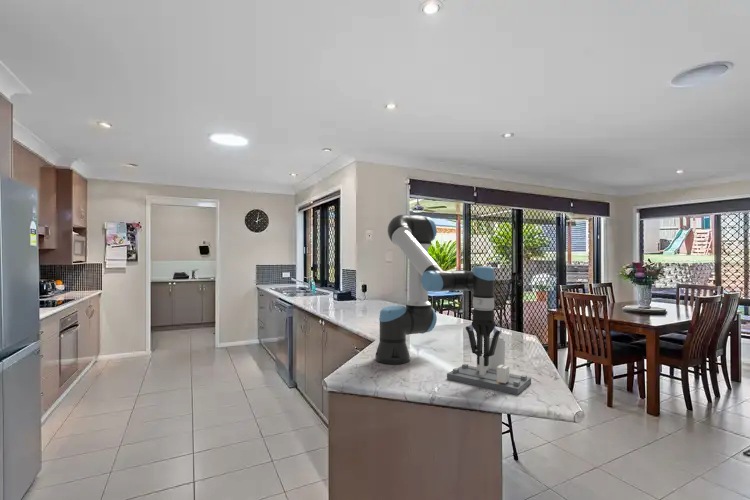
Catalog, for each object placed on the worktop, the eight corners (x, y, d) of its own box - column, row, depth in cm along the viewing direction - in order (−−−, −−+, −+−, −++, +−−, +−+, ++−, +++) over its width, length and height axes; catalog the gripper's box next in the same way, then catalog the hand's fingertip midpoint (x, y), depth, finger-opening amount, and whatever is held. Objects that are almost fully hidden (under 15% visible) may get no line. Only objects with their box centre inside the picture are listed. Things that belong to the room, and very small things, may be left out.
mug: (505, 371, 150) (505, 341, 150) (487, 370, 152) (487, 340, 152) (504, 365, 160) (504, 336, 160) (488, 363, 162) (488, 335, 162)
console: (446, 378, 140) (446, 370, 141) (464, 369, 152) (464, 361, 152) (517, 394, 124) (517, 385, 125) (531, 383, 136) (531, 374, 136)
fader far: (476, 370, 143) (476, 357, 143) (480, 368, 146) (480, 354, 147) (484, 372, 141) (484, 358, 142) (488, 369, 145) (488, 356, 145)
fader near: (496, 381, 130) (496, 366, 131) (500, 378, 134) (500, 364, 134) (505, 383, 129) (505, 368, 129) (509, 380, 132) (509, 365, 132)
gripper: (462, 308, 137) (461, 373, 137) (497, 311, 129) (496, 380, 129) (470, 306, 143) (470, 368, 143) (504, 309, 135) (504, 375, 135)
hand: (482, 374), depth 136 cm, fingers closed
